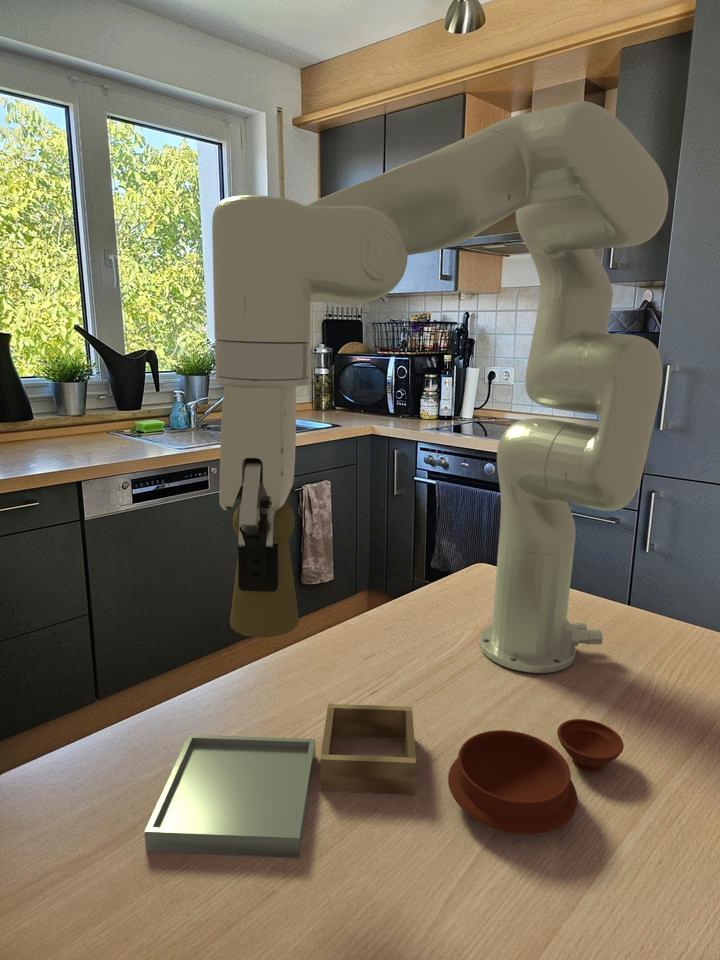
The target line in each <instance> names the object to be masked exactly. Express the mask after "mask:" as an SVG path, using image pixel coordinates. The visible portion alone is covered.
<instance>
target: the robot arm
mask: <svg viewBox="0 0 720 960" xmlns="http://www.w3.org/2000/svg"><path fill="white" fill-rule="evenodd" d="M667 185H668V184H667V181H666V178H665V176H664V173H663V172H662V170H661V169H660V167H659V164H658V163H657V162H656V161H655V160H654V158H653V157H652V156H651V155H650V153H649V152H648V151H647V150H646V149H645V147H643V145H642V144H641V143H640V142H639V140H637V138H636V137H635V136H634V135H633V133H632V132H630V130H629V129H628V128H627V127H626V126H625V125H624V124H623V123H622V122H621V120H619V119H618V118H617V117H616V116H615V115H613V114H612V113H611V112H610V111H609V110H608V109H606V108H604V107H602V106H601V105H598V104H596V103H593V102H591V101H586V100H585V101H584V100H583V101H582V100H581V101H574V102H569V103H566V104H561V105H558V106H557V105H556V106H553V107H549V108H545V109H540V110H535V111H532V112H526V113H523V114H522V113H521V114H518V115H515V116H511V117H508V118H505V119H502V120H500V121H497V122H495V123H494V124H491V125H489V126H487V127H484V128H483V129H480V130H478V131H476V132H474V133H472V134H471V135H468V136H466V137H464V138H462V139H460V140H458V141H456V142H454V143H451V144H449V145H445V147H443V148H439V149H438V150H435V151H433V152H431V153H429V154H426V155H424V156H421V157H419V158H415V159H413V160H411V161H408V162H406V163H403V164H400V165H399V166H396V167H394V168H391V169H389V170H388V171H386V172H382V173H381V174H379V175H376V176H373V177H372V178H369V179H365V180H364V181H361V182H358V183H356V184H353V185H351V186H347V187H345V188H343V189H341V190H337V191H336V192H333V193H331V194H329V195H328V194H327V195H325V196H323V197H321V198H319V199H316V200H314V201H312V202H311V203H310V202H309V203H308V204H306V205H305V204H302V203H300V202H298V201H295V200H293V199H289V198H283V197H279V196H271V195H270V196H269V195H254V194H253V195H252V194H251V195H249V194H248V195H235V196H230V197H228V198H227V197H226V198H224V199H222V200H221V201H219V202H218V203H217V205H216V206H215V208H214V210H213V214H212V221H211V225H212V226H211V229H212V230H211V232H212V234H211V235H212V236H211V239H212V277H213V279H212V280H213V281H212V283H213V319H214V320H213V323H214V324H213V326H214V361H215V363H214V364H215V368H214V369H215V370H214V371H215V383H217V384H219V385H224V388H223V389H224V390H223V396H222V397H223V398H222V405H221V406H222V408H221V422H220V446H219V447H220V450H219V451H220V453H219V454H220V455H219V499H218V501H219V506H220V507H221V508H222V510H224V511H229V510H231V509H232V507H234V506H235V504H237V502H238V501H239V505H240V514H239V538H238V537H237V538H238V539H237V540H238V544H237V561H238V580H239V589H240V590H242V591H263V592H275V591H276V590H277V588H278V544H274V542H275V518H276V511H277V510H279V509H280V508H281V507H282V506H283V504H284V502H285V503H287V501H286V500H287V499H288V498H289V497H288V496H289V495H290V492H291V490H292V488H293V484H294V478H295V468H296V467H295V466H296V465H295V464H296V443H297V441H296V438H297V437H296V436H297V430H296V429H297V424H296V423H297V403H296V401H297V399H296V397H297V392H296V391H297V387H303V386H308V385H310V383H311V382H310V381H311V378H310V376H311V371H310V370H311V323H312V320H311V318H312V317H311V316H312V315H311V314H312V313H311V307H312V306H311V305H312V303H331V304H361V303H370V302H373V301H376V300H379V299H381V298H383V297H385V296H387V295H388V294H389V293H391V292H392V291H393V290H394V289H395V288H396V287H397V286H398V285H399V284H400V282H401V280H402V279H403V277H404V274H405V272H406V269H407V265H408V256H412V255H413V256H414V255H419V254H424V253H431V252H434V251H435V252H436V251H440V250H442V249H446V248H449V247H452V246H456V245H459V244H462V243H465V242H466V241H469V240H470V239H472V238H473V237H475V236H476V235H478V234H480V233H481V232H483V231H484V230H487V229H488V228H490V227H492V226H494V225H495V224H496V223H498V222H500V221H502V220H504V219H505V218H507V217H509V216H511V215H512V214H514V213H515V221H516V226H517V230H518V233H519V235H520V237H521V239H522V241H523V242H524V243H523V244H524V245H525V247H526V248H527V250H528V252H529V255H530V256H531V258H532V261H533V263H534V266H535V269H536V272H537V275H538V280H539V286H540V287H539V288H540V289H539V291H540V292H539V303H538V309H537V316H536V319H535V324H534V328H533V329H534V330H533V335H532V338H531V344H530V350H529V354H528V360H527V366H526V369H525V370H526V371H525V380H524V381H525V382H524V383H525V385H524V386H525V392H526V394H527V396H528V398H529V400H531V401H533V402H534V403H535V404H537V405H539V406H542V407H544V408H549V409H550V408H551V409H553V410H554V409H555V410H559V411H568V412H574V413H582V414H588V415H595V416H598V426H592V425H585V424H580V423H576V422H569V421H564V420H563V421H562V420H556V419H548V418H541V417H540V418H539V417H535V418H526V419H524V418H523V419H521V420H518V421H516V422H513V423H512V424H511V425H510V426H508V427H507V428H506V429H505V430H504V432H503V433H502V435H501V437H500V440H499V442H498V445H497V451H496V466H497V474H498V482H499V492H500V521H499V534H498V535H499V536H498V548H497V560H496V561H497V562H496V574H495V587H494V589H495V590H494V602H493V616H492V624H491V625H489V626H488V627H485V629H483V631H482V632H481V634H480V637H479V646H480V647H479V648H480V649H481V651H482V653H483V654H485V656H486V657H487V658H488V659H490V660H491V661H493V662H494V663H496V664H498V665H499V666H502V667H504V668H508V669H511V670H514V671H518V672H523V673H529V674H530V673H532V674H548V673H556V672H559V671H563V670H564V669H566V668H568V667H570V666H571V665H573V663H574V661H575V659H576V652H577V651H576V647H578V646H579V644H583V645H584V644H586V645H593V646H594V645H596V646H597V645H600V646H601V645H602V643H603V632H602V630H600V629H588V626H587V623H586V622H585V623H584V622H569V621H568V619H567V618H568V609H569V601H570V600H569V599H570V592H571V591H570V589H571V581H572V572H573V561H574V553H575V544H576V525H575V520H574V517H573V512H572V511H571V509H570V506H569V504H573V505H576V506H577V505H578V506H580V507H584V508H588V509H589V508H590V509H594V510H598V511H602V512H603V511H604V512H606V511H607V512H614V511H619V510H621V509H623V508H625V507H626V506H628V505H629V503H631V502H632V501H633V499H634V497H635V496H636V494H637V491H638V488H639V486H640V485H641V484H640V483H641V480H642V478H643V477H642V476H643V473H644V469H645V464H646V461H647V456H648V451H649V446H650V442H651V439H652V433H653V429H654V425H655V420H656V416H657V411H658V407H659V403H660V397H661V393H662V386H663V377H664V376H663V373H664V372H663V370H664V369H663V363H662V358H661V355H660V352H659V350H658V348H657V346H656V345H655V344H654V343H653V342H652V341H650V340H649V339H647V338H645V337H643V336H639V335H634V334H628V333H627V334H625V333H623V334H622V333H608V327H609V321H610V315H611V310H612V304H613V298H614V297H613V296H614V294H613V293H614V292H613V287H612V283H611V280H610V277H609V275H608V273H607V272H606V269H605V268H604V266H603V265H602V263H601V262H600V260H599V258H598V257H597V255H596V254H595V252H594V251H593V250H596V249H597V250H598V249H599V250H600V249H614V248H615V249H616V248H631V247H634V246H639V245H641V244H643V243H646V242H648V241H649V240H651V239H652V238H654V236H656V234H657V233H658V232H659V230H660V229H661V228H662V226H663V224H664V222H665V220H666V217H667V213H668V208H669V190H668V186H667ZM260 500H265V501H270V504H269V508H263V507H260ZM260 515H267V525H266V524H265V522H264V521H261V520H260ZM266 527H267V530H266Z"/></svg>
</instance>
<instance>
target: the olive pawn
mask: <svg viewBox="0 0 720 960" xmlns="http://www.w3.org/2000/svg"><path fill="white" fill-rule="evenodd" d="M269 504H270V501H265V500H260V507H263V508H269ZM239 514H240V504H239V505H238V506H237V507H236V509H235V511H234V512H233V517H232V526H233V530H234V533H235V536H236V537H237V538H239ZM260 520H261V521H264V522H265V524H266V525H267V515H260ZM295 525H296V517H295V513H294V510H293V509H292V508H291V506H290V505H289V504H288V503H287V502H286V503H285V502H284V504H283V506H282V507H281V508H280V509H279V510H277V511H276V518H275V542H274V544H278V588H277V590H276V591H275V592H263V591H242V590H240V589H239V580H238V560H237V562H236V569H235V577H234V578H235V580H234V586H233V594H232V595H233V596H232V603H231V609H230V610H231V611H230V617H229V618H230V620H229V625H230V628H231V629H232V630H233V631H234V632H235V633H236V634H237V633H238V634H240V635H242V636H245V637H249V638H260V639H261V638H262V639H265V638H274V637H279V636H282V635H285V634H288V633H289V632H292V631H294V630H295V629H296V628H297V627H298V626H299V622H300V618H299V617H300V616H299V610H298V604H297V603H298V601H297V595H296V588H295V582H294V581H295V579H294V571H293V566H292V557H291V552H290V542H289V539H290V537H291V536H292V535H293V532H294V529H295ZM266 530H267V527H266Z"/></svg>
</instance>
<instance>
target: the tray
mask: <svg viewBox="0 0 720 960" xmlns="http://www.w3.org/2000/svg"><path fill="white" fill-rule="evenodd" d="M315 759H316V739H315V738H296V737H295V738H292V737H291V738H290V737H271V736H270V737H267V736H265V737H263V736H245V735H244V736H239V735H238V736H237V735H215V734H213V735H212V734H188V735H187V738H186V740H185V742H184V744H183V746H182V749H181V751H180V753H179V755H178V757H177V759H176V762H175V764H174V765H173V768H172V771H171V773H170V775H169V777H168V780H167V782H166V784H165V785H164V788H163V790H162V792H161V795H160V797H159V799H158V801H157V803H156V805H155V807H154V810H153V811H152V814H151V816H150V819H149V820H148V823H147V825H146V827H145V829H144V845H145V852H151V853H152V852H157V853H177V854H179V853H180V854H196V855H197V854H200V855H219V856H220V855H222V856H223V855H224V856H226V855H227V856H246V857H268V858H269V857H271V858H273V857H274V858H290V859H291V858H293V859H298V858H299V859H300V855H301V851H302V843H303V837H304V831H305V824H306V823H305V822H306V817H307V811H308V805H309V804H308V803H309V798H310V793H311V792H310V791H311V785H312V778H313V773H314V772H313V771H314V764H315Z"/></svg>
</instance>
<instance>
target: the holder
mask: <svg viewBox="0 0 720 960" xmlns="http://www.w3.org/2000/svg"><path fill="white" fill-rule="evenodd" d="M335 737H336V738H337V737H338V738H339V737H340V738H362V739H364V738H365V739H366V738H367V739H368V738H369V739H392V740H393V739H394V740H398V739H399V740H404V755H405V756H404V757H402V756H401V757H400V756H399V757H398V756H397V757H396V756H377V755H376V756H370V755H350V754H348V755H347V754H346V755H343V754H333V748H334V746H333V745H334V741H335V740H334V739H335ZM415 741H416V740H415V729H414V714H413V706H401V705H400V706H399V705H398V706H397V705H375V704H374V705H371V704H348V703H347V704H346V703H345V704H341V703H328V704H327V709H326V717H325V724H324V731H323V738H322V744H321V745H322V746H321V750H320V751H321V752H320V759H319V762H320V764H319V765H320V766H319V767H320V771H319V774H320V776H319V779H320V782H319V785H320V786H319V788H320V789H319V790H320V792H337V793H338V792H340V793H341V792H342V793H348V792H349V793H364V794H365V793H368V794H370V793H371V794H394V795H395V794H396V795H416V794H415V793H416V792H415V791H416V771H417V770H416V769H417V758H416V757H417V755H416V743H415Z"/></svg>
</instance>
